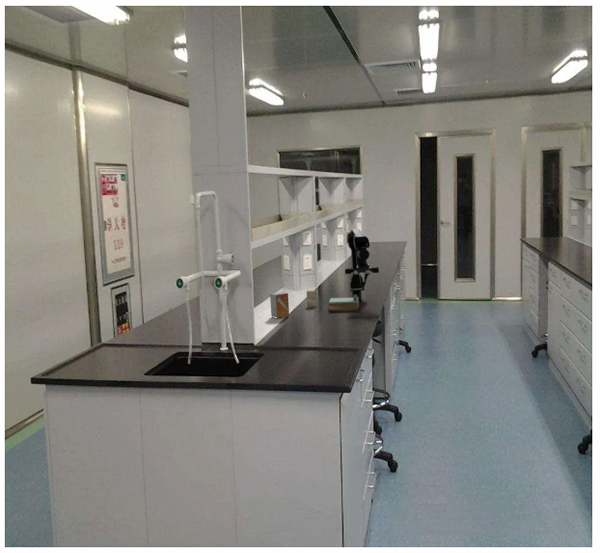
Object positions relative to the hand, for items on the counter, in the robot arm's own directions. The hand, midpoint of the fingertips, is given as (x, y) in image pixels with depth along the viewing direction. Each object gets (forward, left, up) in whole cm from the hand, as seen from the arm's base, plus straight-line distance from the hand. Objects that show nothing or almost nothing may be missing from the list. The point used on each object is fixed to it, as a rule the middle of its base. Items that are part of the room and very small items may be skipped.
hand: (362, 285), depth 333 cm
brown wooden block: (-12, -31, -13) cm, 36 cm away
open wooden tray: (0, -11, -13) cm, 17 cm away
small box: (+16, -45, -13) cm, 50 cm away
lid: (0, -11, -9) cm, 14 cm away
